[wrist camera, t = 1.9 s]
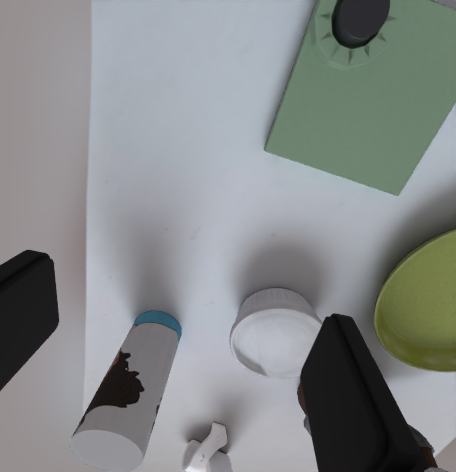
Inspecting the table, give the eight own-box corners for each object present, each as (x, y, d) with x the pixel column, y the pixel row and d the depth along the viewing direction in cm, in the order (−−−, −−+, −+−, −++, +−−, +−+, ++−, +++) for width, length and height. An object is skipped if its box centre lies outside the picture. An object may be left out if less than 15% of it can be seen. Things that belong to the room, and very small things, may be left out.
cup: (128, 312, 36) (57, 430, 23) (175, 309, 36) (131, 429, 22) (141, 348, 39) (85, 472, 25) (185, 345, 38) (151, 473, 25)
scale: (263, 149, 26) (265, 153, 24) (327, -31, 20) (339, -54, 18) (391, 192, 27) (407, 201, 25) (487, 32, 21) (522, 20, 19)
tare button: (326, 36, 20) (333, 29, 19) (346, -16, 19) (356, -29, 17) (365, 51, 20) (374, 45, 19) (387, 0, 19) (400, -11, 17)
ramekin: (214, 312, 35) (209, 343, 31) (278, 262, 32) (283, 289, 27) (270, 357, 38) (274, 392, 33) (335, 317, 34) (349, 349, 30)
